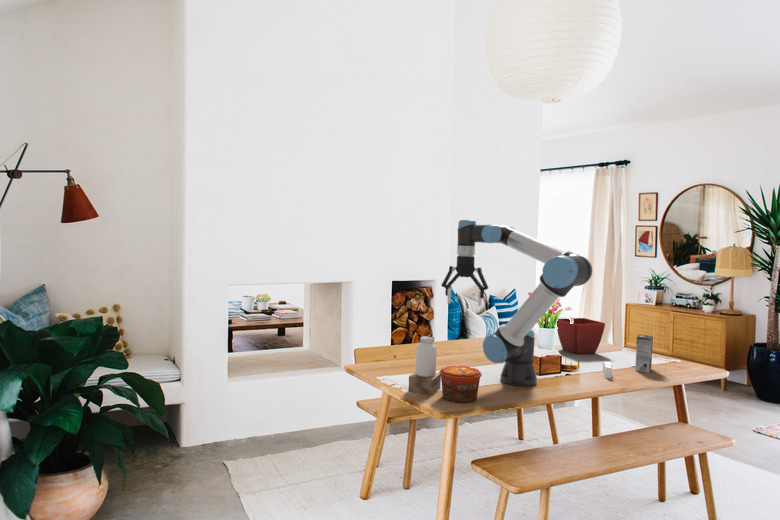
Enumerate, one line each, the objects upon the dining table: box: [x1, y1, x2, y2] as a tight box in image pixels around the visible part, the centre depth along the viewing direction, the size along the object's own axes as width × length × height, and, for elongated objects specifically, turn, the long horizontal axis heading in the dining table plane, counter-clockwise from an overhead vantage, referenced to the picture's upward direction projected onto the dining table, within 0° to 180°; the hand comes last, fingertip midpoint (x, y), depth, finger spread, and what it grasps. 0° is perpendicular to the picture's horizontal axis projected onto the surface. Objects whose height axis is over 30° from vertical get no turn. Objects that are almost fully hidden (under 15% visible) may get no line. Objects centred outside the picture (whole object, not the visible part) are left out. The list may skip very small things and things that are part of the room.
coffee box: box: [634, 334, 654, 373], centre depth 266 cm, size 9×6×16 cm
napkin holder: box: [602, 361, 613, 379], centre depth 253 cm, size 15×11×6 cm
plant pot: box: [556, 317, 606, 355], centre depth 304 cm, size 19×19×17 cm
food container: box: [438, 365, 483, 404], centre depth 212 cm, size 16×16×11 cm
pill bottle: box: [415, 335, 437, 377], centre depth 221 cm, size 8×8×15 cm
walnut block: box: [408, 371, 442, 396], centre depth 222 cm, size 10×10×6 cm
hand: (464, 304), depth 242 cm, fingers open, 13 cm apart
